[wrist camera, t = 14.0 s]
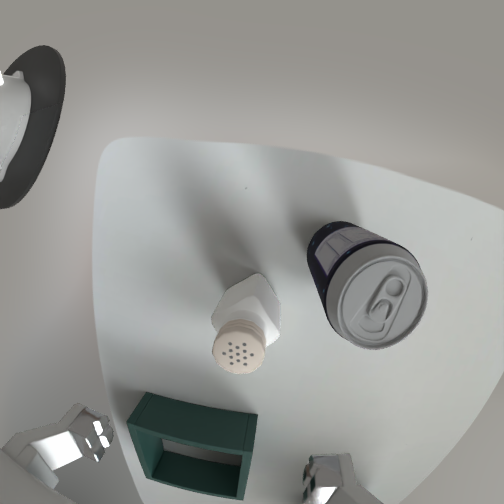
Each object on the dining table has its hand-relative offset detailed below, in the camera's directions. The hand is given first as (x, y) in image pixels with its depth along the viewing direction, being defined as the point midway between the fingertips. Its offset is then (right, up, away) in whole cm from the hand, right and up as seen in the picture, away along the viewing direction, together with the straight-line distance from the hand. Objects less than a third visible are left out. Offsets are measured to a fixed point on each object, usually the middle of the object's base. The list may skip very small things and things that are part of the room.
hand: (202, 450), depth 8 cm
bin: (-5, -17, +22) cm, 28 cm away
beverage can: (+9, +8, +15) cm, 19 cm away
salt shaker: (+2, +3, +17) cm, 17 cm away
